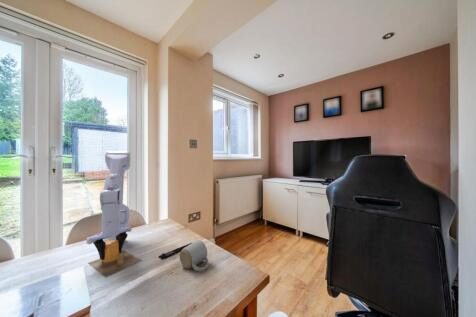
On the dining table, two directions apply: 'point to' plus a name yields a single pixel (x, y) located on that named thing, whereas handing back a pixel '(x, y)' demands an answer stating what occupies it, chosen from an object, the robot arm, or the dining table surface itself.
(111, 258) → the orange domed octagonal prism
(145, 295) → the dining table surface
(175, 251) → the electric trimmer
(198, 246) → the ceramic mug
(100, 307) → the dining table surface
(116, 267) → the board
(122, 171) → the robot arm
